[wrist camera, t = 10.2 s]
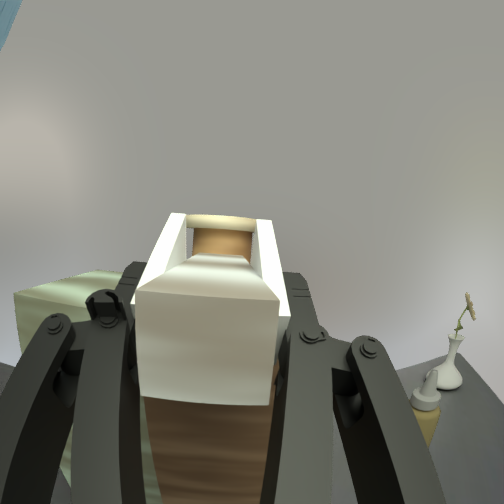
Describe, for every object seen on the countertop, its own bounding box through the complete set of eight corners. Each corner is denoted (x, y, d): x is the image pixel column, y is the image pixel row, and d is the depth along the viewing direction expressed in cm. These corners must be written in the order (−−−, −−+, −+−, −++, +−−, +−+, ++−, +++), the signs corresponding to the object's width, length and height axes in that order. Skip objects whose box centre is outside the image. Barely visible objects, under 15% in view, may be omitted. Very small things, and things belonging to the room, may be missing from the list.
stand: (263, 551, 16) (317, 327, 14) (97, 528, 14) (13, 292, 13) (252, 477, 30) (274, 284, 28) (122, 462, 28) (97, 269, 26)
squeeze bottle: (379, 482, 26) (421, 386, 25) (370, 451, 34) (400, 361, 33) (424, 474, 25) (469, 380, 24) (410, 446, 33) (444, 359, 32)
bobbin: (186, 277, 28) (190, 218, 28) (254, 281, 29) (258, 223, 28) (85, 383, 6) (83, 166, 6) (328, 401, 7) (355, 184, 7)
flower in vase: (453, 398, 46) (480, 298, 45) (417, 385, 55) (439, 291, 54) (466, 380, 52) (487, 293, 51) (435, 370, 62) (453, 288, 61)
